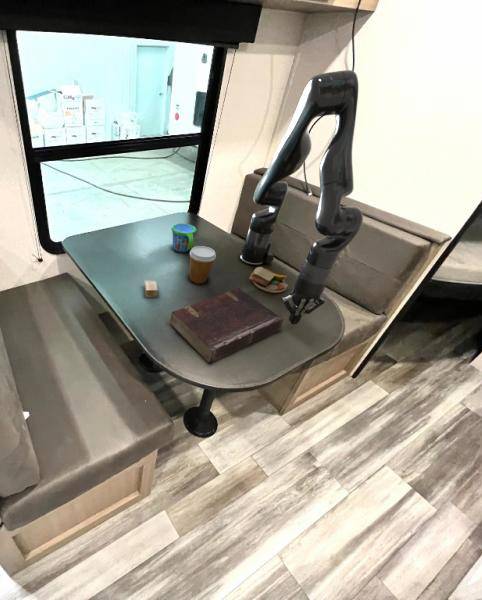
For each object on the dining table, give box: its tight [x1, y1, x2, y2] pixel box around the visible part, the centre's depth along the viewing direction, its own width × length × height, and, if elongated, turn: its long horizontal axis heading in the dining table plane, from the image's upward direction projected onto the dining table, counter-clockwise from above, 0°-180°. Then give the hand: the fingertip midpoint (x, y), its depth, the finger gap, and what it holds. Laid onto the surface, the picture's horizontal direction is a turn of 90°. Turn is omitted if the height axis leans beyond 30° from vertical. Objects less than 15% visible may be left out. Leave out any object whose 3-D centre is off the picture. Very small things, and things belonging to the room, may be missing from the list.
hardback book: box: [169, 287, 284, 364], centre depth 98 cm, size 29×19×5 cm, turn 120°
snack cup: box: [170, 222, 197, 253], centre depth 139 cm, size 16×10×10 cm
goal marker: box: [143, 280, 159, 298], centre depth 113 cm, size 4×6×3 cm, turn 3°
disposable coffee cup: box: [189, 245, 217, 284], centre depth 118 cm, size 10×10×12 cm
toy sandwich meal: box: [249, 266, 289, 294], centre depth 119 cm, size 12×14×5 cm
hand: (292, 322), depth 100 cm, fingers closed
